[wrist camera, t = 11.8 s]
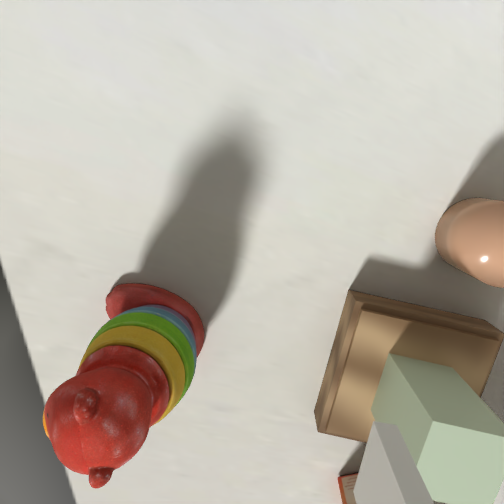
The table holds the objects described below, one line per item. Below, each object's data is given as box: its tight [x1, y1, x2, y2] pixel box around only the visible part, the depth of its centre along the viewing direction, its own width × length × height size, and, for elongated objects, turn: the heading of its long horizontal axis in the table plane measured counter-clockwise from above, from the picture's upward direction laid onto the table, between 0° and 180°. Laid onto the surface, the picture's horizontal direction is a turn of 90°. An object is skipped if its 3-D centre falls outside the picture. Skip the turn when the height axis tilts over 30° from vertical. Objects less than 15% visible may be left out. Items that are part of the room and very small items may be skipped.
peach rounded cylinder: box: [435, 198, 504, 288], centre depth 35 cm, size 7×7×6 cm
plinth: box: [314, 290, 504, 443], centre depth 39 cm, size 14×14×4 cm
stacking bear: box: [43, 284, 204, 488], centre depth 32 cm, size 11×10×18 cm
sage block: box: [371, 353, 504, 504], centre depth 32 cm, size 6×6×10 cm
